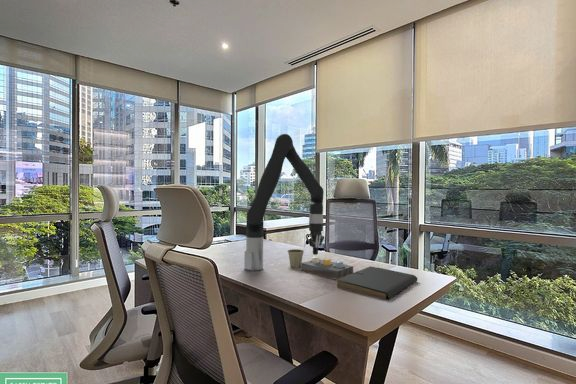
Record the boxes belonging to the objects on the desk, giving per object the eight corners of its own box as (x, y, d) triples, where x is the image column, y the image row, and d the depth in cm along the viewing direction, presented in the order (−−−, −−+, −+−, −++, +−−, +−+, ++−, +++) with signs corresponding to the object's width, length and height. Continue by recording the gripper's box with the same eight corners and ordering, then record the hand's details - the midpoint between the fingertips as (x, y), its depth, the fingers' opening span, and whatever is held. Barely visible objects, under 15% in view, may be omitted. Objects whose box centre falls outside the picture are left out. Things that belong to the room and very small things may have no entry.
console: (337, 279, 144) (338, 271, 144) (301, 270, 160) (301, 263, 160) (353, 274, 155) (353, 266, 155) (317, 265, 170) (317, 258, 170)
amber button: (327, 270, 154) (327, 260, 154) (321, 269, 157) (321, 259, 157) (332, 269, 157) (332, 259, 157) (326, 267, 160) (326, 258, 160)
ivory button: (316, 268, 160) (316, 258, 160) (310, 266, 162) (310, 257, 162) (320, 266, 162) (320, 257, 162) (314, 265, 165) (314, 256, 165)
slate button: (340, 273, 149) (340, 263, 149) (333, 271, 152) (333, 262, 152) (344, 272, 152) (344, 262, 152) (337, 270, 155) (338, 260, 155)
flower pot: (284, 265, 172) (284, 249, 172) (299, 263, 176) (299, 248, 176) (291, 268, 163) (291, 253, 163) (306, 267, 167) (307, 251, 167)
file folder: (370, 265, 158) (417, 275, 142) (369, 273, 158) (417, 283, 142) (336, 278, 133) (389, 292, 117) (335, 288, 133) (388, 302, 117)
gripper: (318, 220, 170) (317, 251, 170) (302, 222, 160) (302, 254, 160) (329, 222, 164) (328, 253, 164) (313, 223, 155) (313, 257, 155)
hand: (315, 254), depth 162 cm, fingers closed
